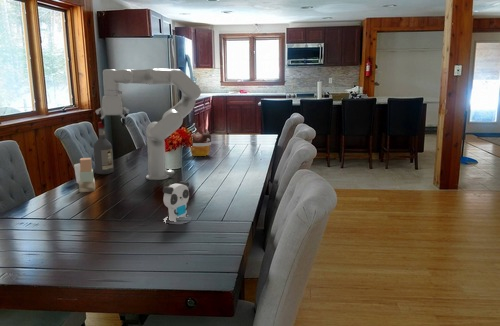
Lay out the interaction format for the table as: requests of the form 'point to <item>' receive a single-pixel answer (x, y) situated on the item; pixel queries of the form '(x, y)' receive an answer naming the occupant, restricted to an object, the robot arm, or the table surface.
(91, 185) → the beech base block
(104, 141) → the liquor
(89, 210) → the table surface
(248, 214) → the table surface
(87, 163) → the terracotta block
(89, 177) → the sage top block
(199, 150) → the bucket of meat
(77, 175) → the white cup
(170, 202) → the panda figurine
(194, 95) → the robot arm
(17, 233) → the table surface
